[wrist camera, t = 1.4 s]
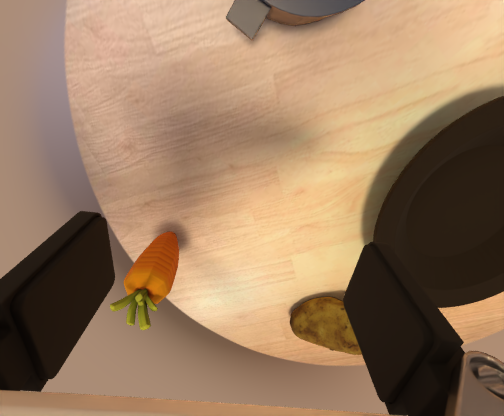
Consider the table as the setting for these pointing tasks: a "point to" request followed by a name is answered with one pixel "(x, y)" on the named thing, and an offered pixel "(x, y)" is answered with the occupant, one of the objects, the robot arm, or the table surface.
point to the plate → (452, 210)
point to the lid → (312, 7)
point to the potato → (325, 325)
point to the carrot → (150, 279)
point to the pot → (259, 16)
